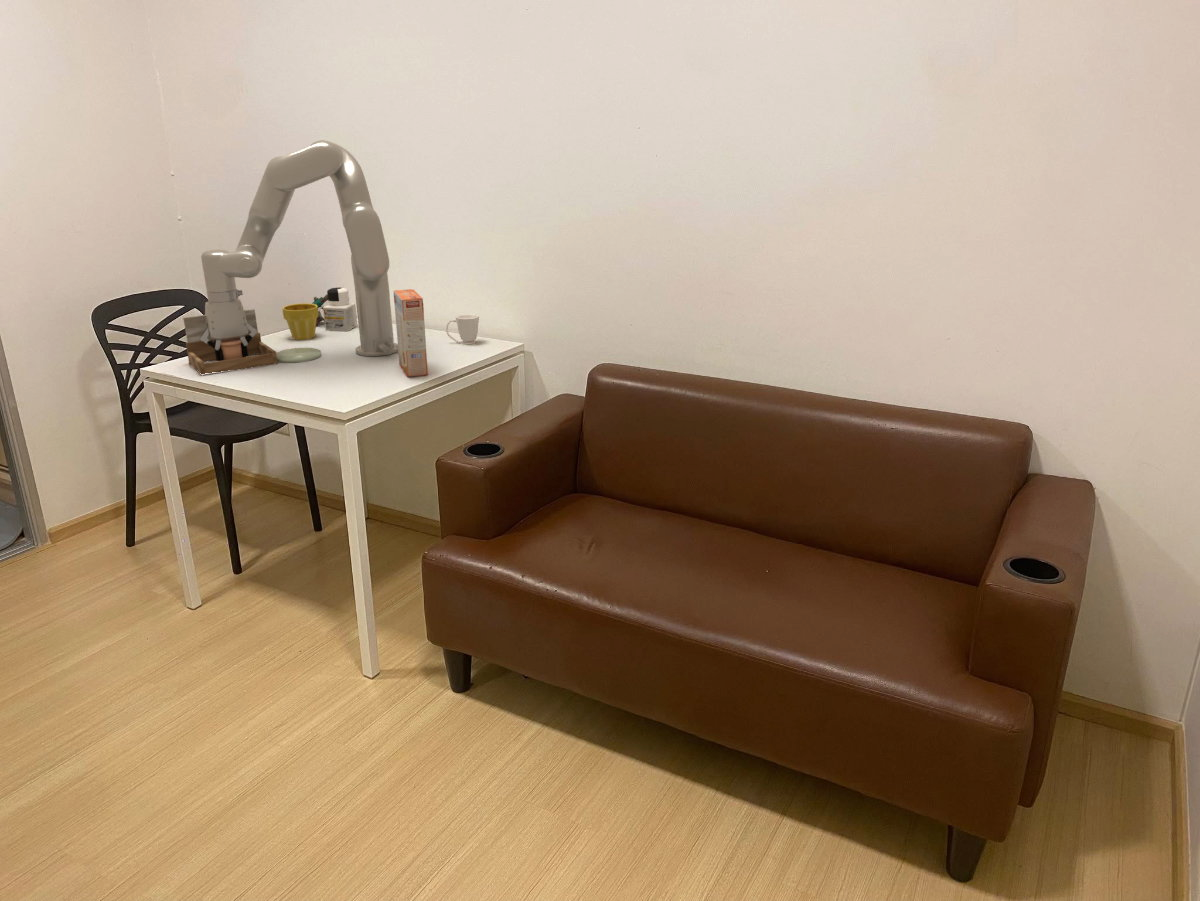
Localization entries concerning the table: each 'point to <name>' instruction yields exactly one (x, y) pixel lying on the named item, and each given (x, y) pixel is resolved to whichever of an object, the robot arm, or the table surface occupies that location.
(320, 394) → the table surface
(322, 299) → the binoculars
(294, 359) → the pale green disc
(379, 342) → the robot arm
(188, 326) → the wooden drawer
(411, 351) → the cracker box
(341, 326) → the container
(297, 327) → the plant pot
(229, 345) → the clay pot
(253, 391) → the table surface
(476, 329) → the cup
